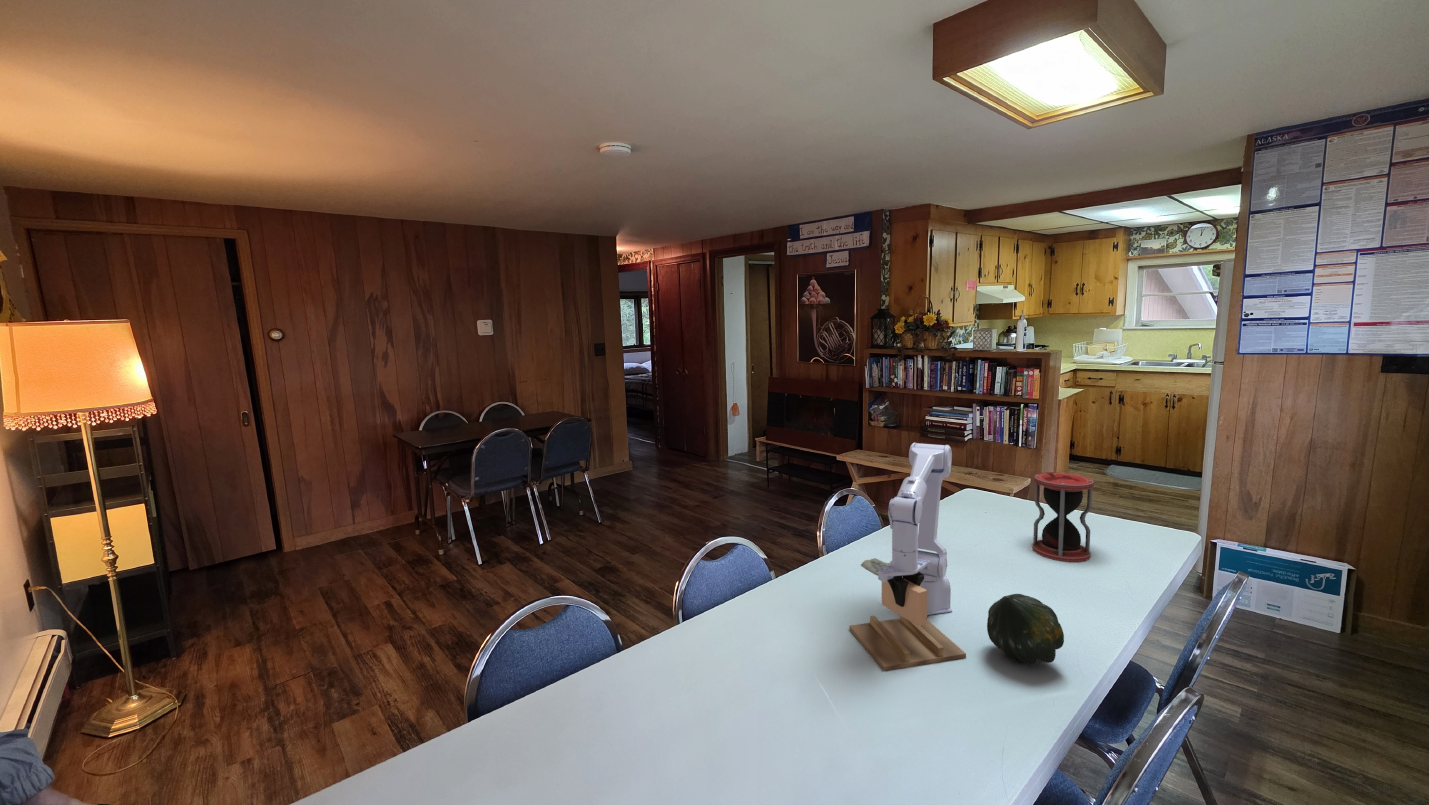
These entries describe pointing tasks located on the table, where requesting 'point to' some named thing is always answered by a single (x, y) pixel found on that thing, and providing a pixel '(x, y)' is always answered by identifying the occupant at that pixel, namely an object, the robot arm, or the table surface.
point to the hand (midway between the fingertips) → (904, 603)
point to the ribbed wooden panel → (905, 643)
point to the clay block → (908, 603)
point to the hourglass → (1062, 517)
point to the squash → (1024, 629)
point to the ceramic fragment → (874, 565)
